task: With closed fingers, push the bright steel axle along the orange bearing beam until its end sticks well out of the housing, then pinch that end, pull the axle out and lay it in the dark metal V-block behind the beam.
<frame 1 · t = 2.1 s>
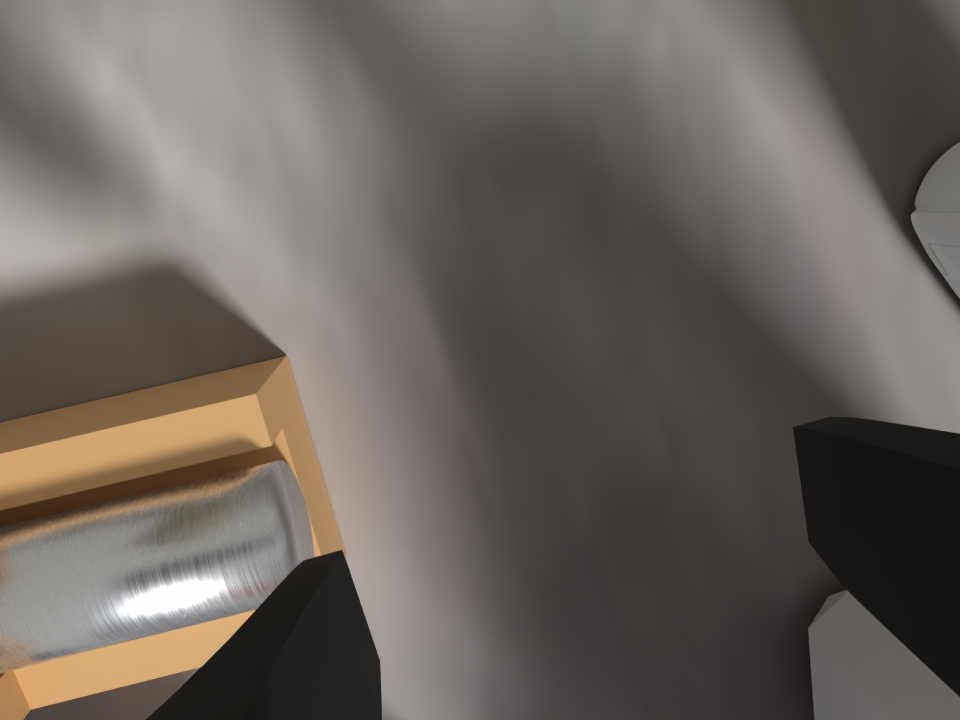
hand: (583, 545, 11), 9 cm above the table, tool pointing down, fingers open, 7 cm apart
bearing beam: (100, 511, 19), on the table
axle: (96, 547, 16), point 2 cm above the table, touching bearing beam
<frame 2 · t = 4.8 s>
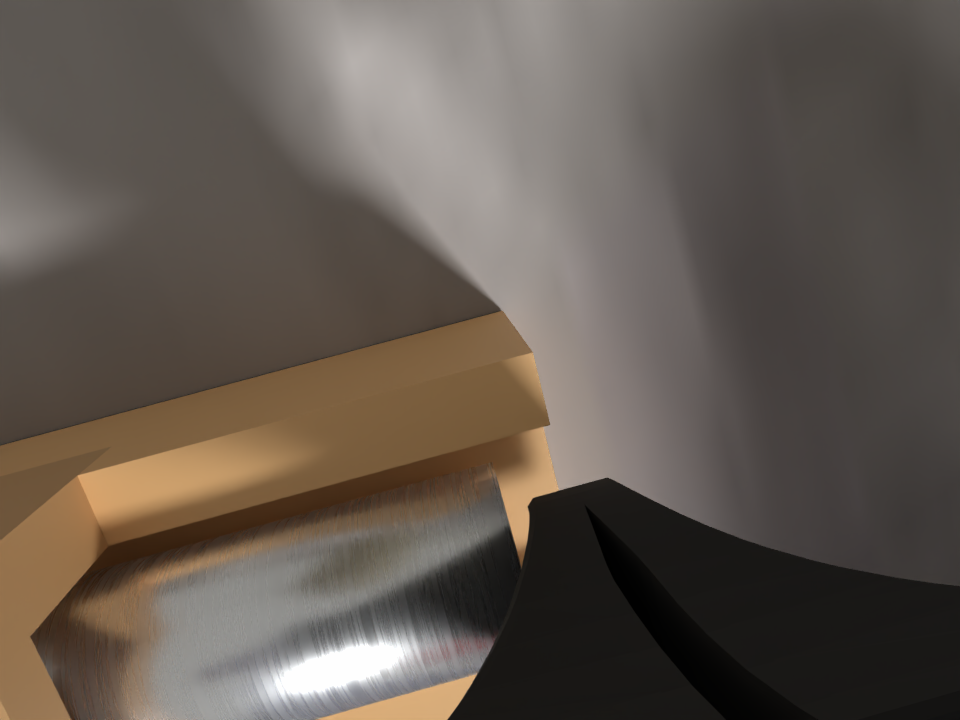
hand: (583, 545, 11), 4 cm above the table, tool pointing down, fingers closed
bearing beam: (262, 519, 15), on the table
axle: (231, 585, 12), point 2 cm above the table, touching bearing beam, gripper
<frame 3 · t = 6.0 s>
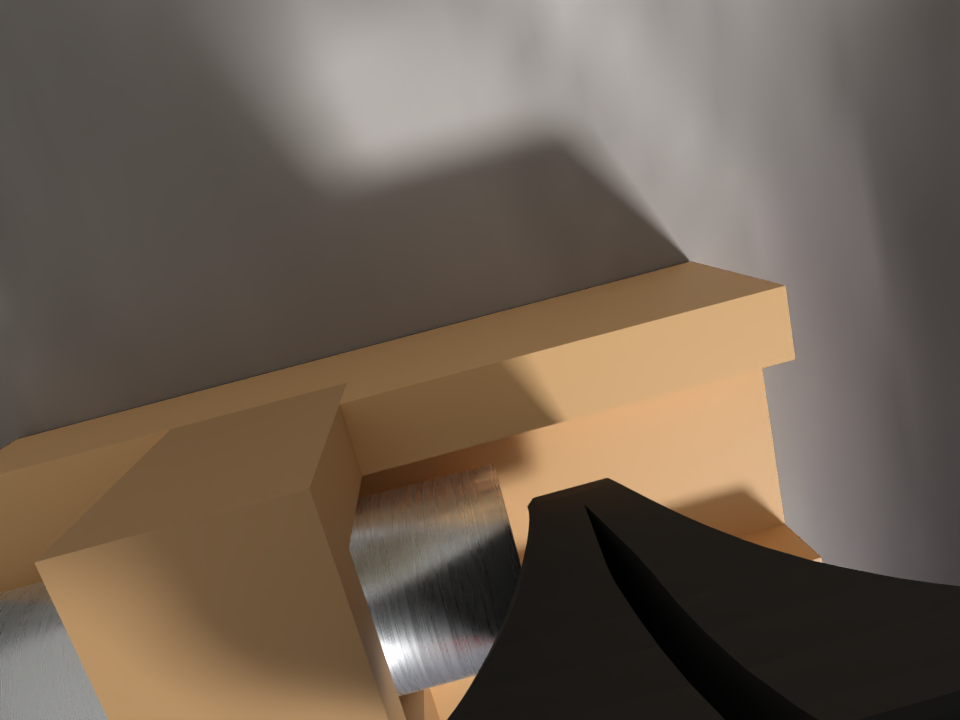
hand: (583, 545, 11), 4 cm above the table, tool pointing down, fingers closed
bearing beam: (444, 469, 15), on the table
axle: (231, 584, 12), point 2 cm above the table, touching bearing beam, gripper
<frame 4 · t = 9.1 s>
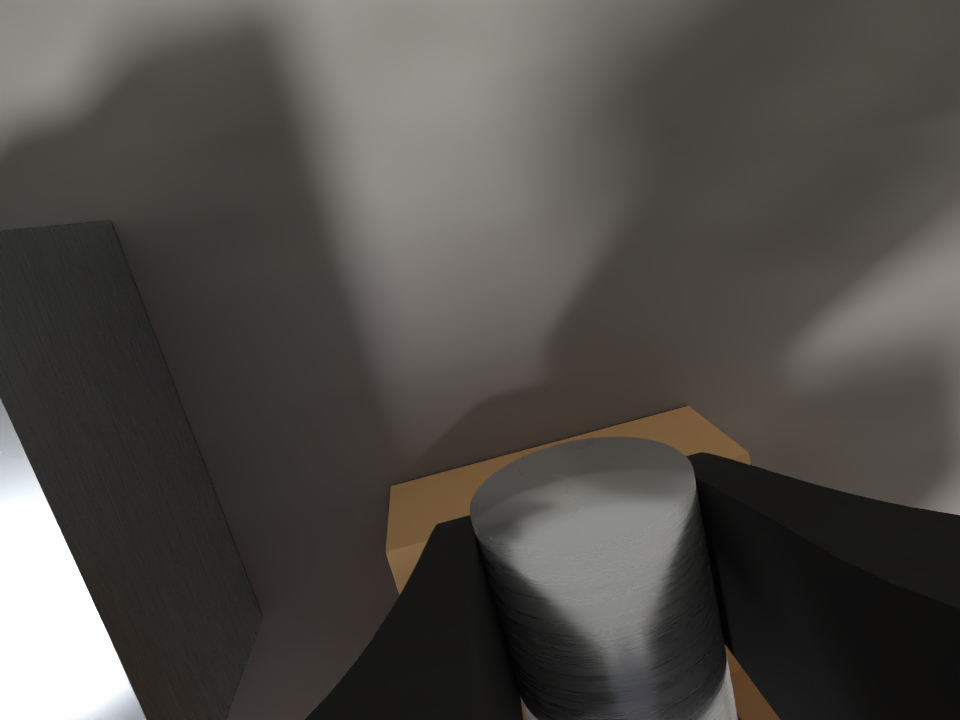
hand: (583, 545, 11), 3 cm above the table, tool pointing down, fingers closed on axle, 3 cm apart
axle: (616, 705, 12), point 2 cm above the table, touching bearing beam, gripper
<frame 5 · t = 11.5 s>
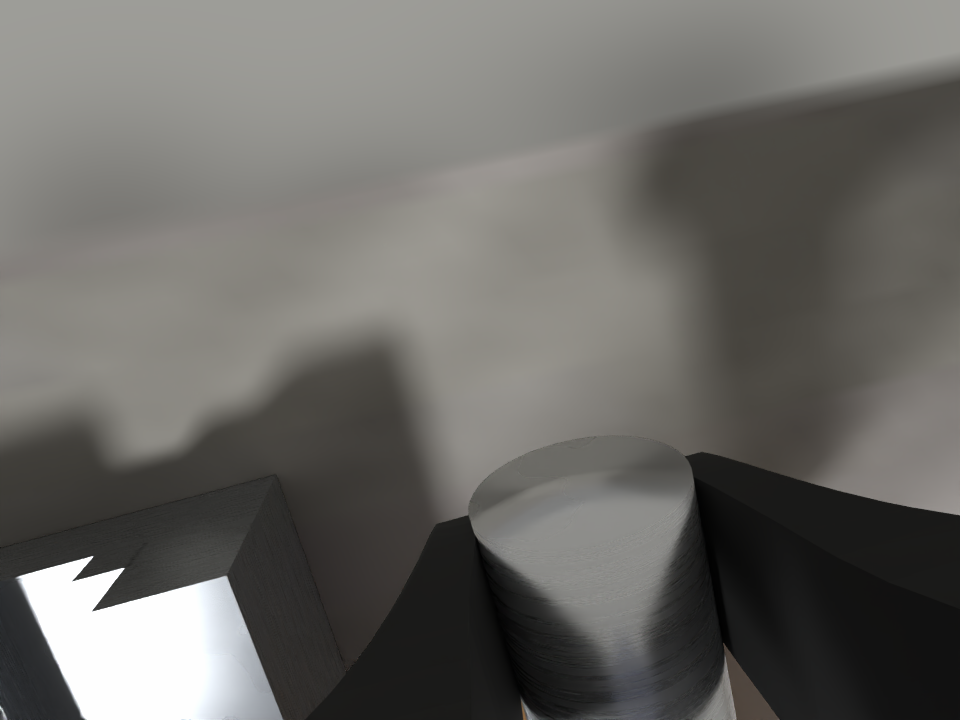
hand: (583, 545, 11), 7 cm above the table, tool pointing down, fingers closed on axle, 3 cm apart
v-block: (143, 662, 18), on the table
axle: (615, 702, 12), point 6 cm above the table, touching gripper
when the fingers open (5 cm above the table, at t = 14.1 s): axle drops 2 cm, resting on v-block.
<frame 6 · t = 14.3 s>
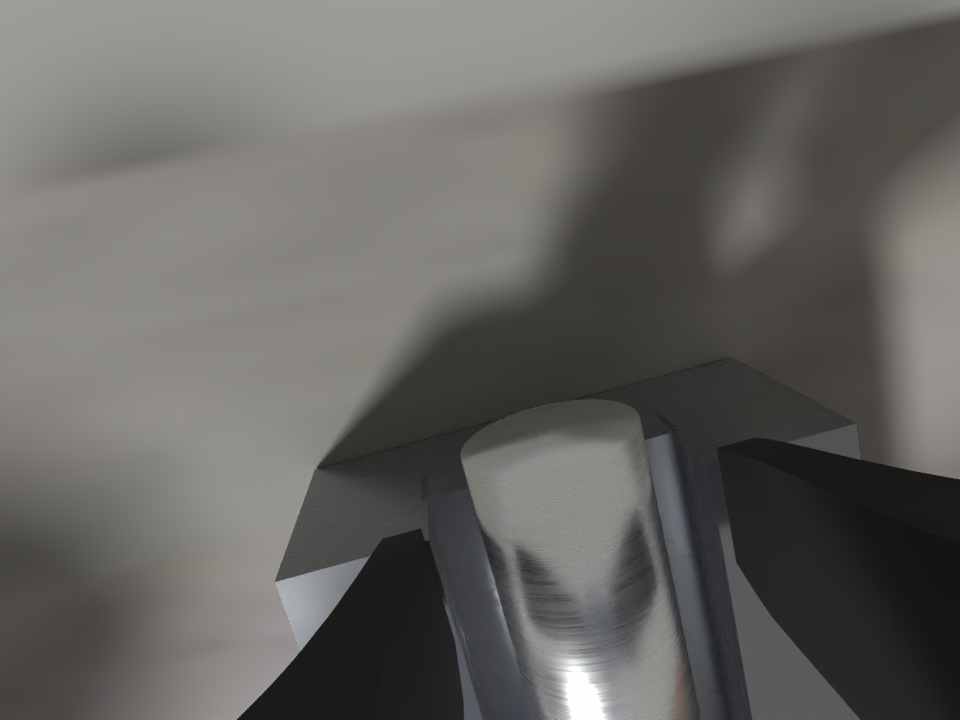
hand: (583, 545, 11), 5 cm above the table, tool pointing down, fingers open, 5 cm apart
v-block: (563, 567, 16), on the table
axle: (585, 635, 14), point 2 cm above the table, touching v-block
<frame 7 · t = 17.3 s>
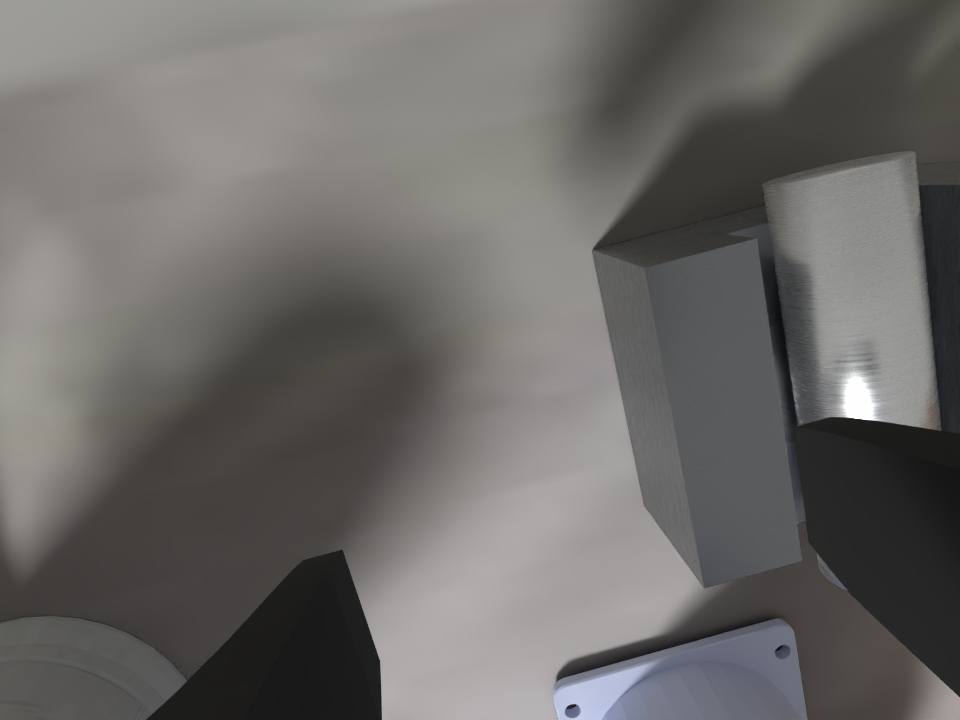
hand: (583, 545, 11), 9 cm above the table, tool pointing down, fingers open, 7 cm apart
v-block: (776, 342, 20), on the table
axle: (821, 366, 18), point 2 cm above the table, touching v-block
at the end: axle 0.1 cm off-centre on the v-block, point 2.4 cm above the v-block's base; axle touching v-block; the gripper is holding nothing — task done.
